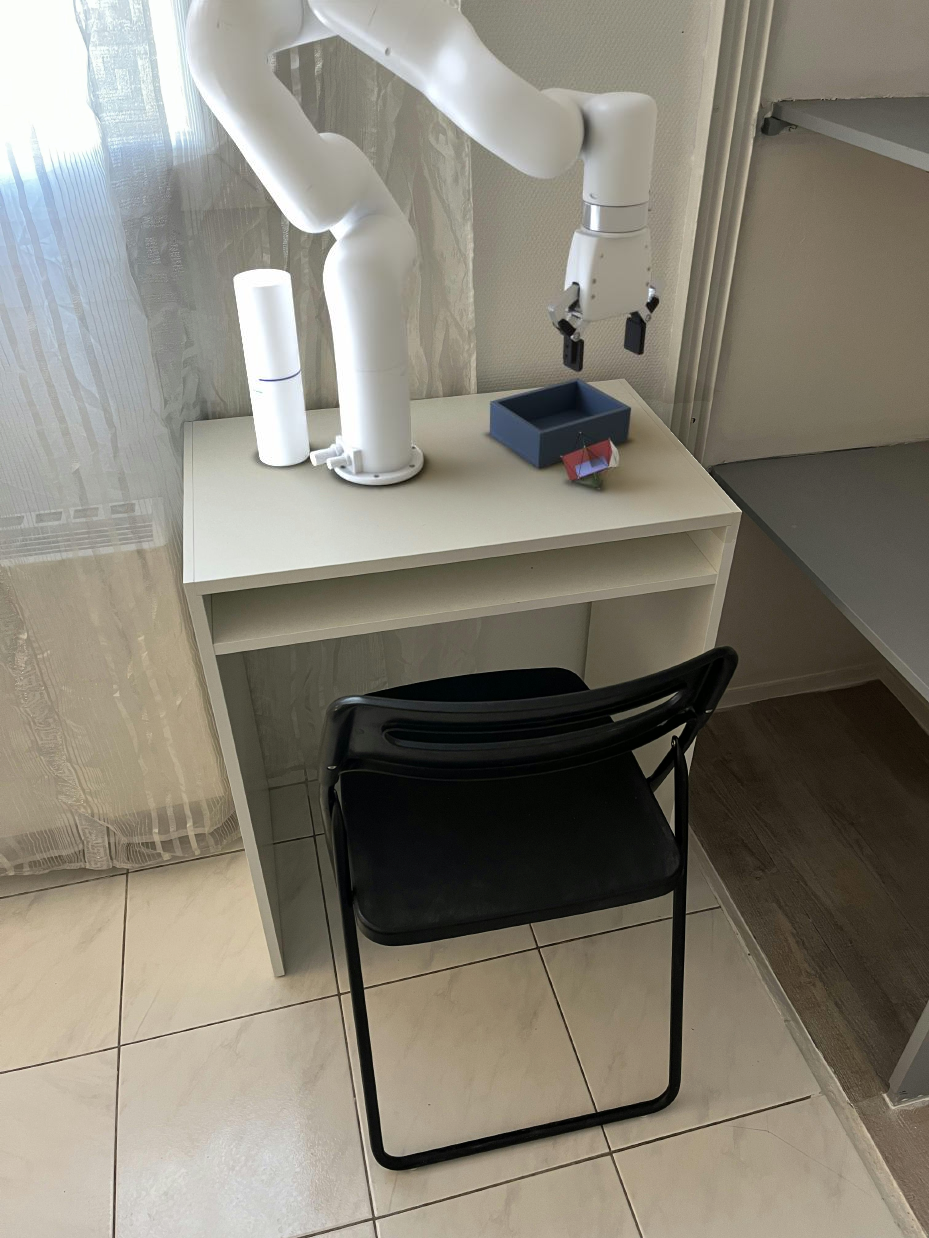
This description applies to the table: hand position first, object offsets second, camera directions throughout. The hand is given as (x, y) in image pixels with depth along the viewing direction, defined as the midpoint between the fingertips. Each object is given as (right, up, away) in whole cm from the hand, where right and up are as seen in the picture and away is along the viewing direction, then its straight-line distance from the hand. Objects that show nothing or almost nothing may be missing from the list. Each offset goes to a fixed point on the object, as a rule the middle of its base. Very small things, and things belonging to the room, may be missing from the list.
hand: (603, 359), depth 118 cm
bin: (-4, -6, +21) cm, 22 cm away
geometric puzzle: (-1, -14, +10) cm, 17 cm away
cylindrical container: (-43, -9, +17) cm, 47 cm away
